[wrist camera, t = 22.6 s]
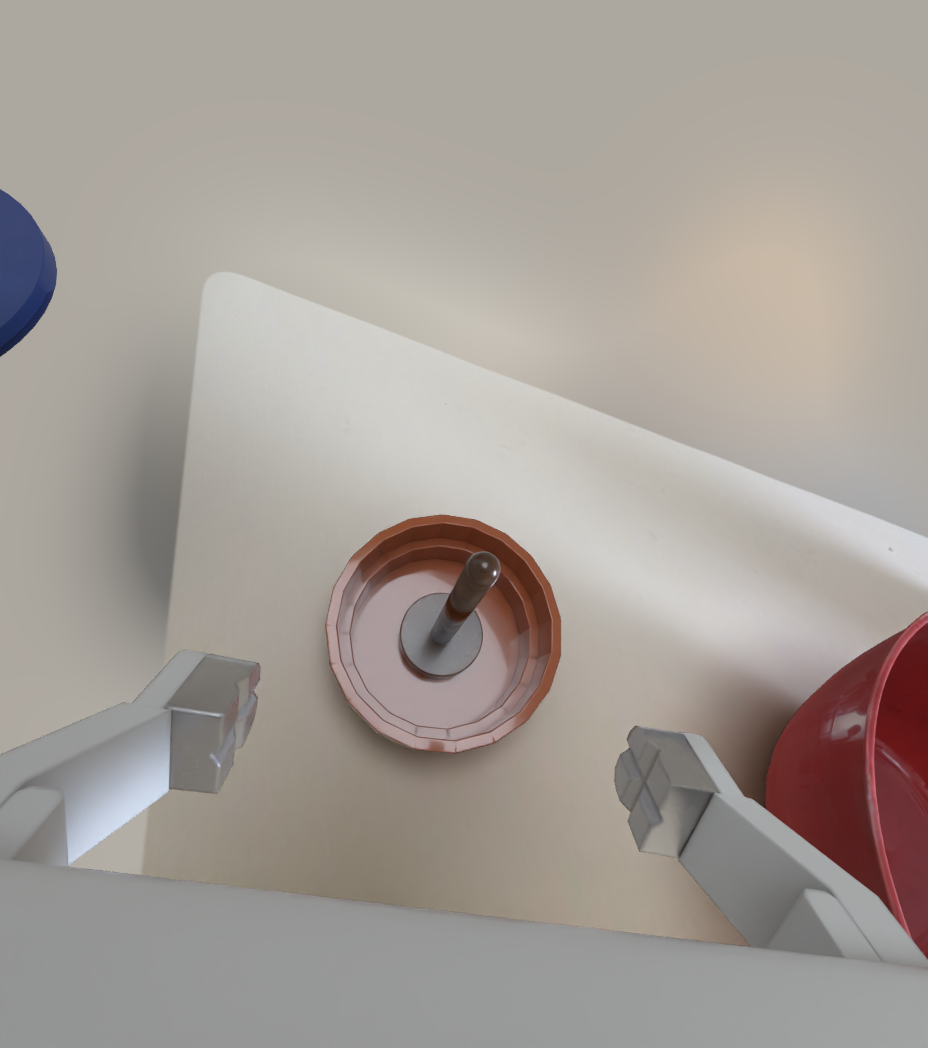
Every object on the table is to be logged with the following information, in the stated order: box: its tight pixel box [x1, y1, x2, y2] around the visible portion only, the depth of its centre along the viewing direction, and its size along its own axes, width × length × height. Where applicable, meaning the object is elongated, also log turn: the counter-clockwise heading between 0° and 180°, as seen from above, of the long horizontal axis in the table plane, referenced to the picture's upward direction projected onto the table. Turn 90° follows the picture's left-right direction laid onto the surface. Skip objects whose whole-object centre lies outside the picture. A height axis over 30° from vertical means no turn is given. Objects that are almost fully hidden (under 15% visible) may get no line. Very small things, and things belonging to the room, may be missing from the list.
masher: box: [399, 551, 501, 680], centre depth 29 cm, size 6×6×17 cm
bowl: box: [325, 515, 561, 753], centre depth 34 cm, size 15×15×6 cm
